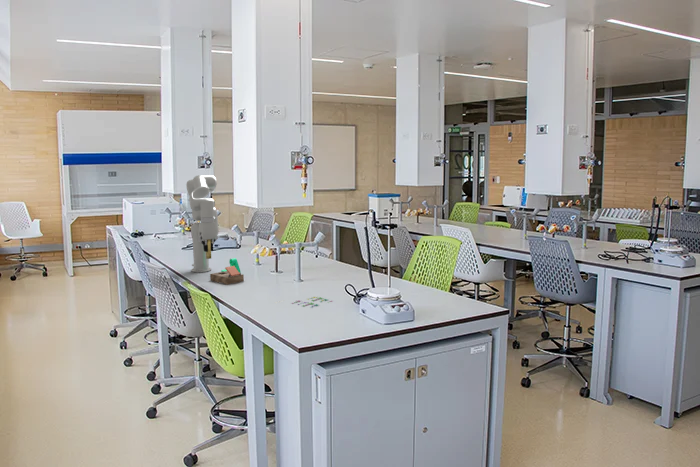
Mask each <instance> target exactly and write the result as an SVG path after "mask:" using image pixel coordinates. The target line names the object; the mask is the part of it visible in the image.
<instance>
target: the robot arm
mask: <svg viewBox="0 0 700 467" xmlns="http://www.w3.org/2000/svg"><path fill="white" fill-rule="evenodd" d="M217 184H218V183H217V178H216V177H215V175H212V174H211V175H210V174H207V175H206V174H203V175H202V174H200V175H195V176H194V177H193V179H189V180H188V181H187V182H186V184H185V185H186V191H187V194H188V196H189V198H188V200H189V201H188V202H189V206H190V209H191V215H192V220H194V221H196V223H193V224H192V225H191V226H190V233H191V238H192V250H193V252H192V253H193V263H192V264H191V267H193V268H191V272H193V273H206V272H211V271H212V267H210V266H209V265H210V264H209V263H210V262H209V259H206V252H208V245H207V240H209V239H211V252H213V251H214V244H215V242H216V241H218V240H219V221H218V220H219V218H218V211H217V208H216V203H215V200H214V199H213V198H211V197H207V196H208V195H209V194H210V193H212V192H214V191H215V189H216V188H217Z"/></svg>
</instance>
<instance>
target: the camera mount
mask: <svg viewBox="0 0 700 467" xmlns="http://www.w3.org/2000/svg"><path fill="white" fill-rule="evenodd" d="M229 265H230V266H235V268H236V269H237V270H238V272H239V273H241V268H240V265H239V262H238V259H237V258H236V257H235V258H230V259H229ZM230 266H229V267H230ZM224 271H227V270H226V269H221V270H220V272H224ZM241 274H242V273H241Z"/></svg>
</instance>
